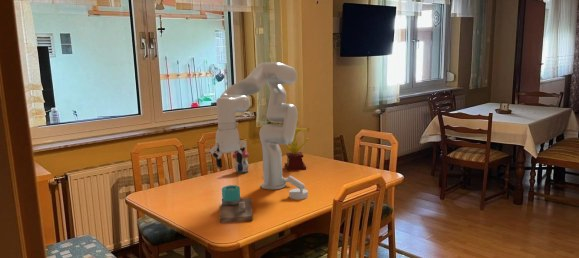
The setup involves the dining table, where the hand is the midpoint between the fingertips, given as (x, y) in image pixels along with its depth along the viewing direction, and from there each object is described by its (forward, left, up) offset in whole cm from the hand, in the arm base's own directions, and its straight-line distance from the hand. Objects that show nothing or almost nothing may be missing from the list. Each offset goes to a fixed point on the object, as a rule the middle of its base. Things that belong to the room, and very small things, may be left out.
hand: (229, 164), depth 194 cm
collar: (0, 0, -15) cm, 15 cm away
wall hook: (-30, -9, -20) cm, 37 cm away
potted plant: (-35, -61, -20) cm, 73 cm away
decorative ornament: (-4, -58, -20) cm, 62 cm away
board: (-2, +6, -19) cm, 20 cm away
